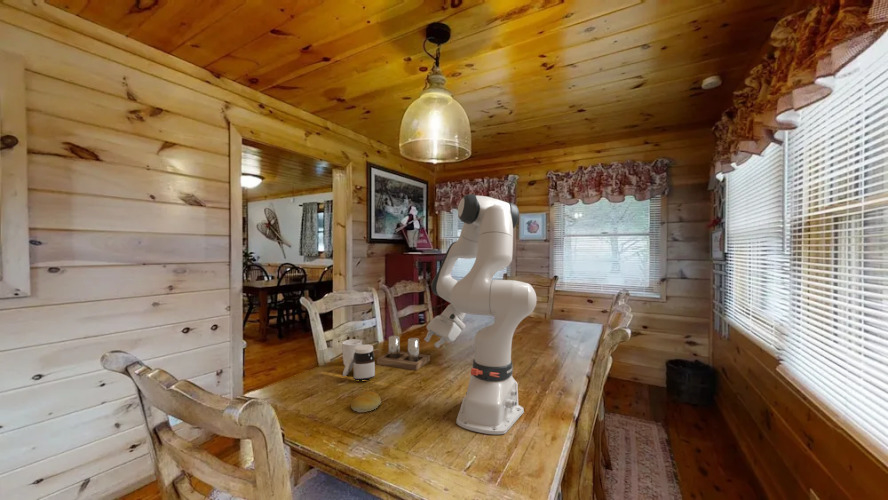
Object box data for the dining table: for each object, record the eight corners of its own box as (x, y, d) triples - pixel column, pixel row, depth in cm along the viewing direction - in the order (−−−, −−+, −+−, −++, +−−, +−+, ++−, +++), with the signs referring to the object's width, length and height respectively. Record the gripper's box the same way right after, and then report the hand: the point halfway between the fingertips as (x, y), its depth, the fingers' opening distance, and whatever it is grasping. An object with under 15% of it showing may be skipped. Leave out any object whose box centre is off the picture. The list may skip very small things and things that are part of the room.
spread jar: (376, 381, 123) (376, 349, 123) (344, 386, 119) (344, 353, 118) (371, 370, 134) (371, 341, 134) (341, 374, 130) (341, 344, 130)
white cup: (342, 364, 141) (341, 340, 141) (361, 362, 143) (361, 338, 143) (342, 370, 133) (342, 345, 133) (362, 368, 136) (362, 343, 136)
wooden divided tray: (416, 373, 130) (416, 364, 130) (376, 367, 137) (376, 358, 137) (429, 363, 141) (429, 355, 141) (392, 357, 148) (392, 350, 148)
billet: (415, 366, 135) (415, 341, 134) (405, 364, 136) (405, 340, 136) (420, 362, 139) (420, 338, 139) (411, 361, 140) (411, 337, 140)
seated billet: (396, 363, 138) (396, 339, 138) (386, 361, 140) (386, 337, 140) (401, 359, 142) (401, 336, 142) (392, 358, 144) (392, 335, 144)
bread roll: (345, 411, 101) (345, 398, 101) (363, 398, 109) (363, 386, 109) (369, 416, 98) (368, 403, 98) (385, 403, 106) (385, 390, 106)
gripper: (435, 309, 154) (416, 333, 149) (458, 317, 136) (436, 345, 131) (444, 318, 156) (425, 342, 151) (467, 327, 138) (446, 355, 133)
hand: (430, 343), depth 141 cm, fingers open, 8 cm apart
